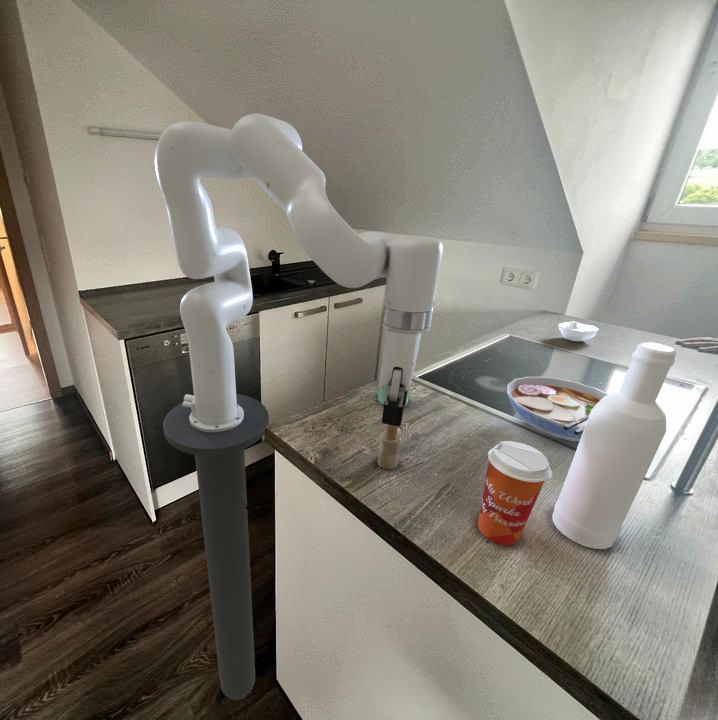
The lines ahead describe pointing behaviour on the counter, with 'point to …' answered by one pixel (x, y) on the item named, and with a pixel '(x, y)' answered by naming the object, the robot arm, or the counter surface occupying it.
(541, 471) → the paper cup
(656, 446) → the bottle
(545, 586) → the counter surface
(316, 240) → the robot arm
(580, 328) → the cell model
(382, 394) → the cylindrical holder
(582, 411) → the ramen bowl
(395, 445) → the brush
